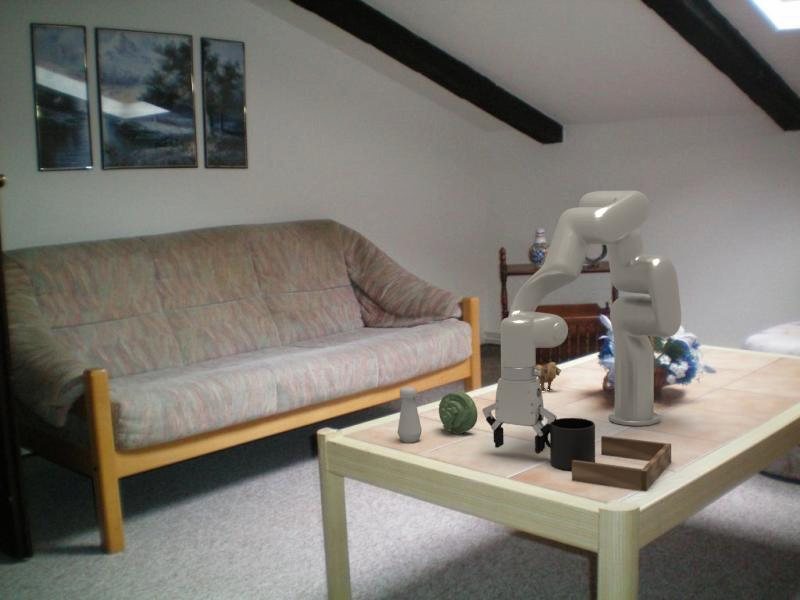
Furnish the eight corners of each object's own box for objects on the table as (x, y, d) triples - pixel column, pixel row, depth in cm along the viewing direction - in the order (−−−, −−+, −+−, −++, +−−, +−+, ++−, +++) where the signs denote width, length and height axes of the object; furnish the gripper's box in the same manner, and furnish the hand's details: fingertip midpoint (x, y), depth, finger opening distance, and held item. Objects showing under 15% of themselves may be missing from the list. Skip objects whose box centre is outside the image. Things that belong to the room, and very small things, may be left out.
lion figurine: (563, 393, 251) (563, 362, 250) (547, 395, 249) (547, 364, 248) (537, 383, 264) (537, 354, 263) (522, 385, 263) (522, 356, 261)
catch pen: (602, 453, 193) (602, 435, 193) (671, 461, 186) (671, 443, 185) (571, 480, 176) (571, 461, 176) (645, 491, 169) (645, 471, 168)
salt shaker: (394, 439, 210) (392, 386, 209) (415, 435, 212) (414, 383, 211) (404, 445, 205) (402, 391, 203) (426, 441, 207) (424, 388, 205)
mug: (557, 452, 195) (556, 413, 194) (603, 463, 187) (603, 422, 185) (532, 462, 188) (531, 422, 187) (579, 474, 180) (578, 431, 179)
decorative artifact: (478, 434, 212) (477, 394, 211) (461, 440, 207) (459, 399, 206) (445, 427, 219) (444, 389, 217) (428, 434, 213) (427, 394, 212)
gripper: (561, 373, 189) (562, 449, 191) (490, 367, 198) (491, 440, 200) (548, 380, 183) (549, 458, 185) (475, 373, 192) (476, 448, 194)
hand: (519, 449), depth 192 cm, fingers open, 9 cm apart
